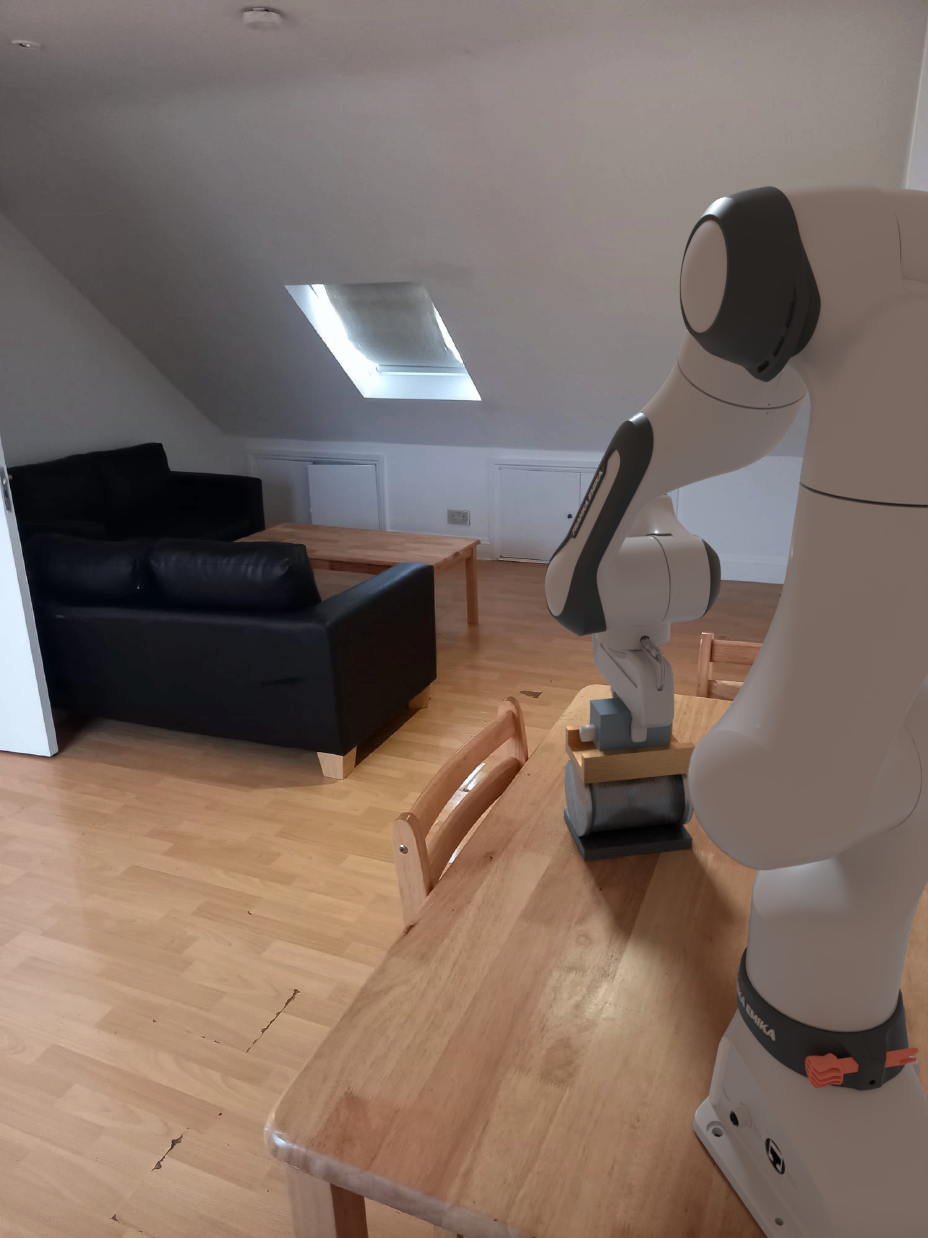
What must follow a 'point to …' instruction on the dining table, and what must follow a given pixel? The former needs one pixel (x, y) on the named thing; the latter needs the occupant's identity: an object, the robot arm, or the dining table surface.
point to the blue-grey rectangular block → (617, 727)
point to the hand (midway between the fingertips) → (629, 728)
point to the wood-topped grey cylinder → (627, 798)
